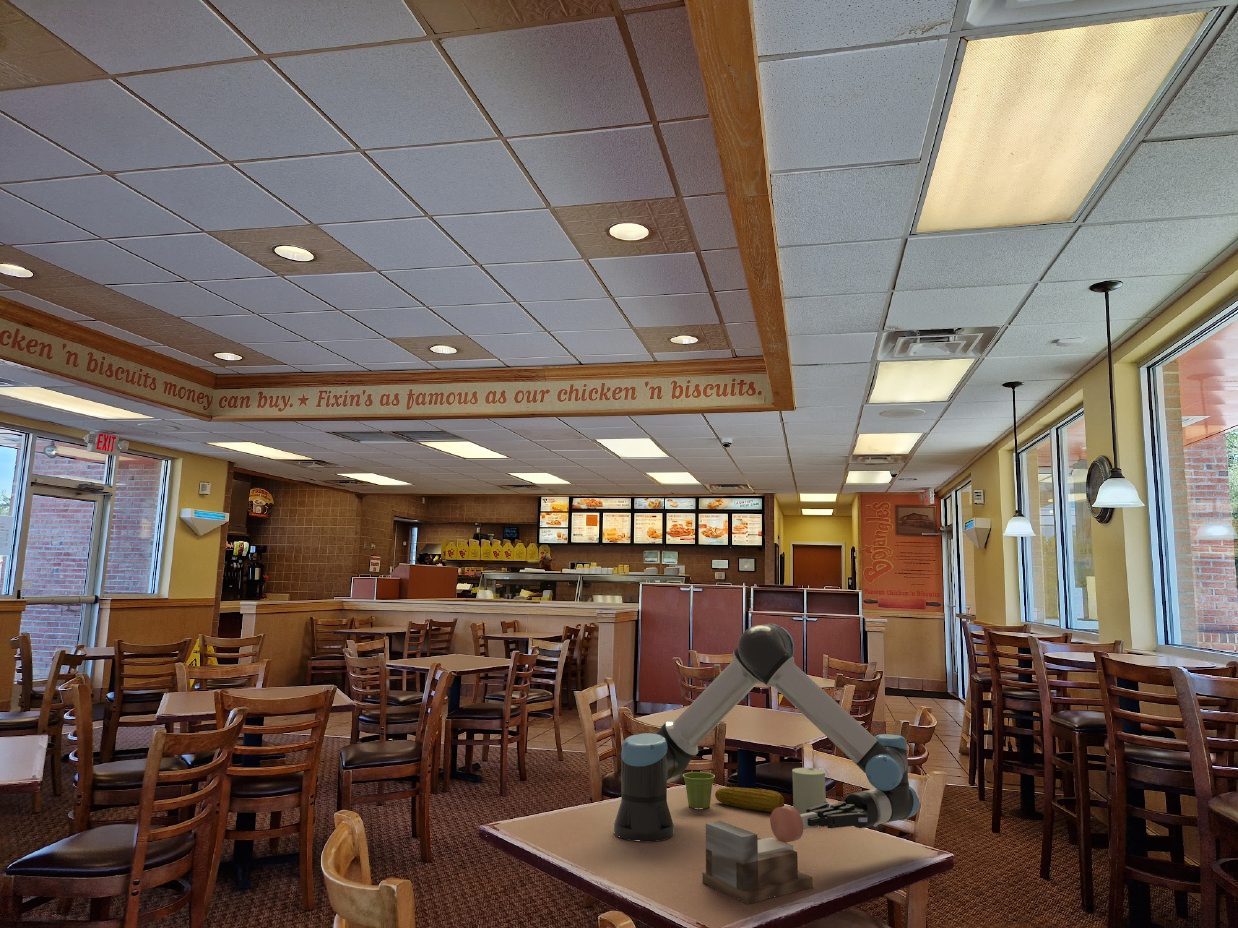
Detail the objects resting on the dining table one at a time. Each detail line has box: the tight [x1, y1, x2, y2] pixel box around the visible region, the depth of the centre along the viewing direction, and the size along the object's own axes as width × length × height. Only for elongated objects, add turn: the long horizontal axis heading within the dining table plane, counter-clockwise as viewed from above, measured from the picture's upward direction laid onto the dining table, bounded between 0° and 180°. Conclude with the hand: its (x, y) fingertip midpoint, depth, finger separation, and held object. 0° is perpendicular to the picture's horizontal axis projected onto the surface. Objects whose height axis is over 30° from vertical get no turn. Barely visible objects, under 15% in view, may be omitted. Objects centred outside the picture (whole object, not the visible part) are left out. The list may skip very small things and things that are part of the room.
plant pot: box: [682, 771, 716, 809], centre depth 227 cm, size 9×9×9 cm
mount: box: [701, 820, 814, 905], centre depth 165 cm, size 18×14×12 cm
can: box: [791, 767, 827, 814], centre depth 221 cm, size 9×9×12 cm
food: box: [714, 786, 785, 814], centre depth 226 cm, size 21×6×6 cm, turn 56°
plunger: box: [758, 805, 804, 856], centre depth 168 cm, size 13×7×12 cm, turn 123°
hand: (794, 823), depth 171 cm, fingers closed
